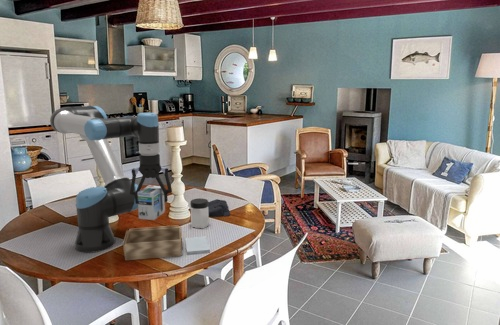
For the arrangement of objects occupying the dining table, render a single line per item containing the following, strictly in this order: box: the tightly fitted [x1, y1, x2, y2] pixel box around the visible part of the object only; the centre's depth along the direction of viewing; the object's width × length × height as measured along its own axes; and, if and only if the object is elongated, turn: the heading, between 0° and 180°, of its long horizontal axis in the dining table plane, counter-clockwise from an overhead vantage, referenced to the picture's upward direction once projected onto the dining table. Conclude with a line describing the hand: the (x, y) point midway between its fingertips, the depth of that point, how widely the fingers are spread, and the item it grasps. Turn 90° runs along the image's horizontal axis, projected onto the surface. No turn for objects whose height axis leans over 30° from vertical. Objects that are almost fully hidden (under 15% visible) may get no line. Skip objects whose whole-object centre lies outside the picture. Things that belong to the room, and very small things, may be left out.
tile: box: [184, 236, 211, 256], centre depth 158 cm, size 9×14×1 cm, turn 12°
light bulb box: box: [137, 184, 166, 221], centre depth 151 cm, size 11×7×11 cm, turn 169°
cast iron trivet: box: [208, 198, 231, 218], centre depth 204 cm, size 15×22×5 cm
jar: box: [189, 197, 210, 229], centre depth 181 cm, size 9×8×12 cm
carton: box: [122, 225, 184, 261], centre depth 154 cm, size 22×16×7 cm
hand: (152, 210), depth 152 cm, fingers closed on light bulb box, 8 cm apart
